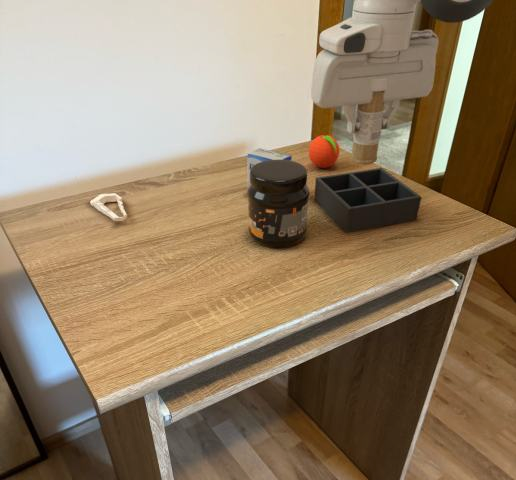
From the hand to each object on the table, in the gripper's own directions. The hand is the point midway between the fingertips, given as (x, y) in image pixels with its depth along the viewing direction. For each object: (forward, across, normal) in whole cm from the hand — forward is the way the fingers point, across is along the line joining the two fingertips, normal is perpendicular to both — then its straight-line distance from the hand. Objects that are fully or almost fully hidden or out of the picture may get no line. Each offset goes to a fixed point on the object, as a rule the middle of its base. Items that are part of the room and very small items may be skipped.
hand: (367, 130), depth 81 cm
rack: (+16, -4, -4) cm, 17 cm away
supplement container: (+16, +16, 0) cm, 23 cm away
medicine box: (+16, +12, -16) cm, 26 cm away
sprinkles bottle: (+5, 0, 0) cm, 5 cm away
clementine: (+16, -5, -26) cm, 31 cm away
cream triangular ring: (+16, +43, -20) cm, 50 cm away
